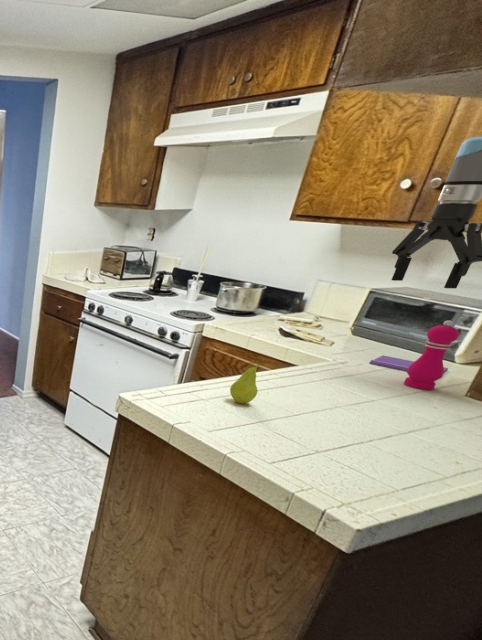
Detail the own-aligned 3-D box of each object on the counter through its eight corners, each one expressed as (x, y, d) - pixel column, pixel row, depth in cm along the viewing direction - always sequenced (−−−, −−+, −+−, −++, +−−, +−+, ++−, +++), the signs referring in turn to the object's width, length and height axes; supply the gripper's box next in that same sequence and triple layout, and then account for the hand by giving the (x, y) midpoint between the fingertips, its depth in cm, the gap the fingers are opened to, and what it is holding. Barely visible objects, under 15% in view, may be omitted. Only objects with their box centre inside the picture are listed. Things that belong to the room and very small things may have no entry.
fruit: (224, 396, 128) (237, 355, 124) (249, 400, 127) (263, 358, 122) (229, 404, 123) (243, 361, 119) (256, 408, 122) (270, 364, 117)
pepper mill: (407, 380, 144) (437, 316, 136) (440, 388, 138) (473, 322, 130) (396, 383, 141) (426, 318, 133) (429, 392, 135) (463, 324, 127)
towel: (447, 370, 154) (448, 367, 153) (436, 377, 147) (438, 374, 146) (381, 357, 166) (383, 354, 166) (369, 363, 159) (370, 360, 159)
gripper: (394, 202, 135) (365, 277, 143) (503, 202, 112) (462, 291, 120) (418, 203, 135) (388, 277, 143) (532, 203, 112) (488, 291, 120)
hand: (422, 284), depth 131 cm, fingers open, 13 cm apart
